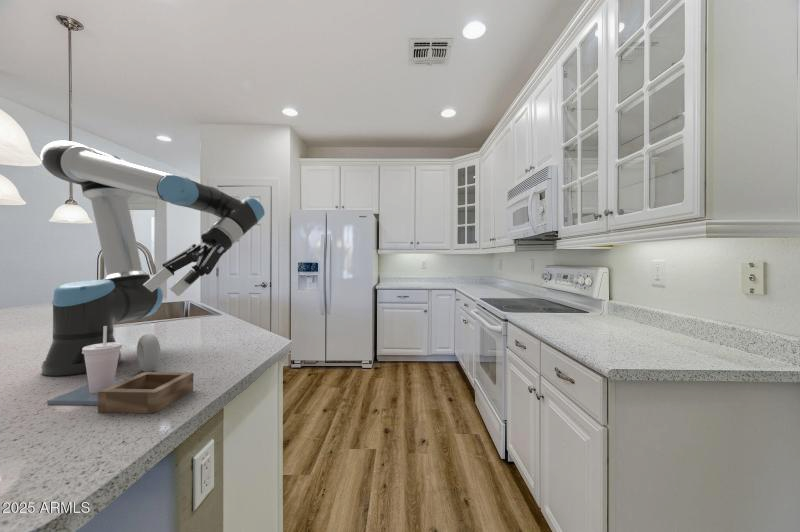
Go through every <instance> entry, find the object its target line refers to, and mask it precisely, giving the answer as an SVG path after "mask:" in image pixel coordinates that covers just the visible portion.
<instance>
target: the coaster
mask: <svg viewBox="0 0 800 532" xmlns="http://www.w3.org/2000/svg"><path fill="white" fill-rule="evenodd" d="M122 381H123V380H116V379H115V380H114V385H115V384H117V383H120V382H122ZM46 401H47V405H55V406H56V405H57V406H58V405H60V406H62V405H63V406H65V405H67V406H68V405H69V406H98V393H90V391H89V384H87V385H84V386H82V387H79V388H77V389H74V390H71V391H69V392H65V393H63V394H61V395H58V396H55V397H53V398H50V399H48V400H46ZM85 404H86V405H85Z"/></svg>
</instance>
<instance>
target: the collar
mask: <svg viewBox="0 0 800 532" xmlns="http://www.w3.org/2000/svg"><path fill="white" fill-rule="evenodd" d="M121 381H122V382H120V383H117V384H115V385H113V386H110V387H108V388H106V389H103V390H101V391H98V405H97V413H103V412H105V413H107V414H108V413H110V414H111V413H114V414H115V413H118V414H121V413H122V414H156V413H158V412H160V411H161V410H163V409H165V408H166V407H169V406H170V405H171V404H174V403H175V402H177V400H179V399H181V398H182V397H184V396H186V395H188V394H190V393H191V392H193V391H194V372H177V371H176V372H175V371H173V372H171V371H168V372H167V371H152V372H144V371H143V372H141V373H139V374H136V375H135V376H131V377H130V378H127V379H124V380H121Z"/></svg>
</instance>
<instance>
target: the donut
mask: <svg viewBox="0 0 800 532" xmlns="http://www.w3.org/2000/svg"><path fill="white" fill-rule="evenodd" d="M161 354H162V353H161V345H160V341H159V340H158V338H157V336H156V335H155V334H152V333H146V334H143V335H142V336H141V337H139V339H138V341H137V345H136V356H137V357H136V358H137V363H138V367H139V368H140V370H141V371H143V373H144V372H155V370H156V369H157V368H158V367H159V365H160V363H161V356H162V355H161Z"/></svg>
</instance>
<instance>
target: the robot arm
mask: <svg viewBox="0 0 800 532" xmlns="http://www.w3.org/2000/svg"><path fill="white" fill-rule="evenodd" d="M40 152H41V153H40V161H41V163H42V165H43V166H44V168H45V169H46V171H48V173H50V174H51V175H53V176H54V177H56V178H58V179H60V180H63V181H66V182H67V183H72V184H75V185H80V188H81V192H82V195H83V197H85V198H86V199H88V200H89V201H91V206H92V211H93V215H94V221H95V226H96V230H97V235H98V239H99V244H100V249H101V253H102V254H101V255H102V258H103V263H104V267H105V273H106V275H105V277H103V279H93V280H80V281H73V282H68V283H64V284H61V285H58V286H57V287H55V289H54V291H53V300H52V301H51V303H52V342H51V345H50V347H49V349H48V351H47V354H46V358H45V360H44V361H43V362H42V363H41V374H42V375H44V376H51V377H58V376H59V377H61V376H71V375H80V374H85V373H86V374H87V371H86V364H85V357H84V354H83V353H82V348H83V347H86V346H89V345H93V344H100V343H103V326H107V343H110V342H116V339H115V336H114V324H115V323H116V324H117V323H121V322H126V321H132V320H139V319H142V318H145V317H149V316H151V315H153V314H155V313H156V312H157V311H158V309H159V308H160V307H161V305H162V303H163V300H164V299H163V297H164V295H163V290H162V289H161V287H160V286H161V285H162V284H164V283H165V282H166V281H167V280H168V279H170V278H171V277H172V276H175V272H177V271H178V270H179V271H180V269H182V268H184V267H185V266H186V267H187V266H188V265H190V264H192V263H195V265H192V266H191V269H189V270H188V271H187V272H185V273H184V274H183V275H181V277H180V278H178V280H177V281H175V282H174V283H173V284H172V285H171V286H169V288H168V289H169V290H170V291H171V292H173V293H174V295H175V296H177V297H180V296H181V295H182V294H184V292H185V291H186V290H187V289H188V288H190V287H191V286H192V285H193V284H194V283H195V282H196V281H198V279H199V278H200V277H203V276H204V275H210V274H211V273H212V271H213V269H214V268H215V267H216V266H217V264H218V262H219V260H220V259H221V257H222V256H223V255H224V254H225V253H226V252H227V251H229V250H230V249H231V248H232V246H233V245H234V244H236V243H239V242H240V240H241V238H242V237H243V236H244V235H245V234H246V233H247V232H249V231H250V230H251V229H252V228H253V227H254V226H255V225H257V224H258V223H259V222H260V221H261V220H262V219H263V217H264V216H265V209H264V207H263V205H262V204H261V202H260V201H258V200H257V199H256V198H254V197H245V198H244V199H243V200H239V199H238V198H235V197H233V196H231V195H229V194H227V193H225V192H223V191H222V190H220V189H218V188H216V187H214V186H210V185H208V184H203V183H199V182H197V181H195V180H192V179H190V178H188V177H186V176H182V175H179V174H170V173H167V172H163V171H159V170H156V169H153V168H149V167H145V166H141V165H137V164H133V163H131V162H128V161H126V160H124V159H122V158H120V157H118V156H116V155H113V154H108V153H106V152H102V151H100V150H97V149H95V148H92V147H89V146H86V145H84V144H81V143H78V142H75V141H71V140H70V141H69V140H56V141H52V142H50V143H48V144H46V145H45V146H44V147H43V148H42V150H41V151H40ZM133 193H135V194H138V195H141V196H145V197H149V198H152V199H156V200H160V201H163V202H167V203H170V204H171V205H175V206H180V207H183V208H189V209H192V210H196V211H200V212H204V213H209V214H211V215H213V216H215V217H218V218H219V220H217V221H216V222H214V223H213V224H212V226H210V227H209V228H208V229H206V230H205V231H204V232H202V234H201V237H200V238H201V241H202V243H199V244H196V243H193V244H191V245H190V246H189V247H188V248H187V249H185V250H183V251H181V252H180V253H178V254H176V255H175V256H174V257H172V258H170V259H168V260H167V261H165V262H164V263H162V265H161V266H162V269H160V270H159V271H157V272H156V273H155V274H154V275H152V276H150V274H149V273H147V272H146V271H144V270H143V267H142V262H141V258H140V253H139V249H138V244H137V239H136V235H135V234H136V233H135V229H134V224H133V219H132V215H131V211H130V206H129V202H128V200H129V199H130V198H132V196H133ZM121 361H122V353H121V351H120V352H119V358H118V363H117V365H118V364H120V363H121Z"/></svg>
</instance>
